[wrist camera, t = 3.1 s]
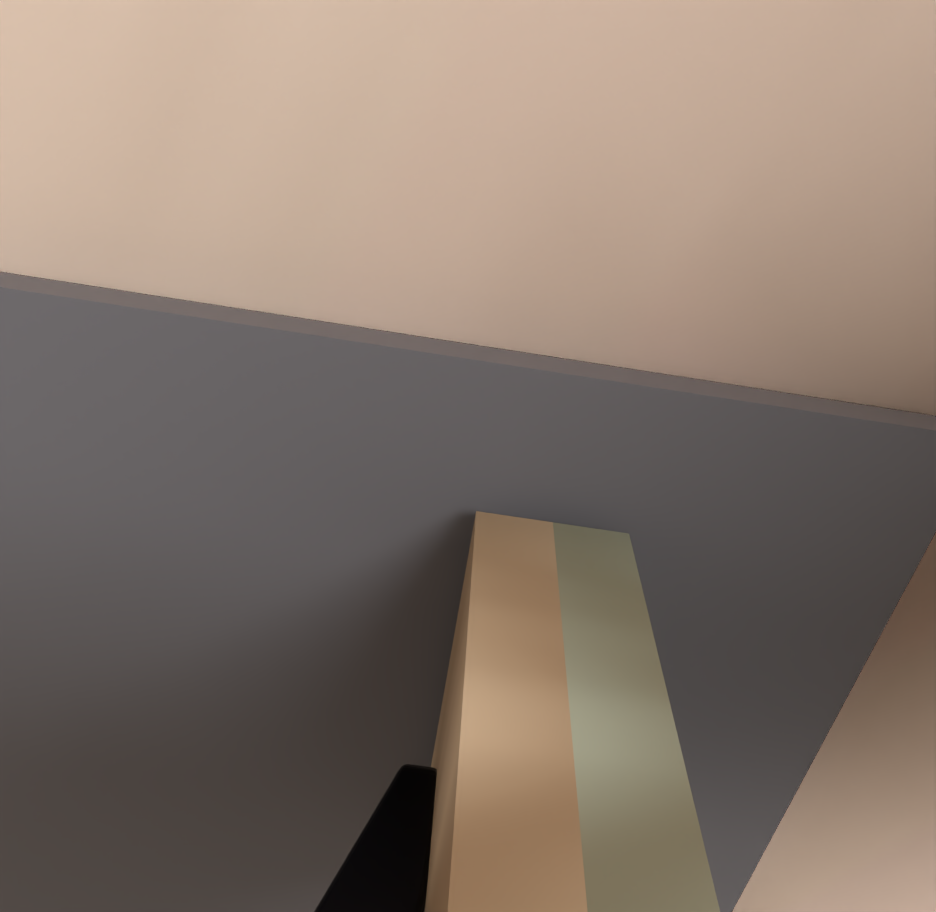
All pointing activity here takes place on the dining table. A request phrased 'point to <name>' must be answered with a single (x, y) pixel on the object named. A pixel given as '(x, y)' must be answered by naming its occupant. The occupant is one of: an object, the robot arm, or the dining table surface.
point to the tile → (559, 737)
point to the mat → (383, 579)
